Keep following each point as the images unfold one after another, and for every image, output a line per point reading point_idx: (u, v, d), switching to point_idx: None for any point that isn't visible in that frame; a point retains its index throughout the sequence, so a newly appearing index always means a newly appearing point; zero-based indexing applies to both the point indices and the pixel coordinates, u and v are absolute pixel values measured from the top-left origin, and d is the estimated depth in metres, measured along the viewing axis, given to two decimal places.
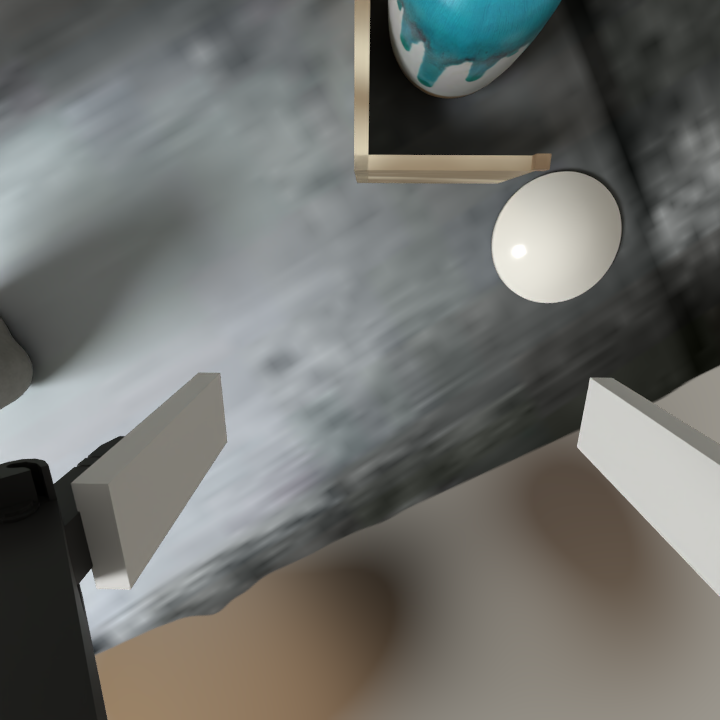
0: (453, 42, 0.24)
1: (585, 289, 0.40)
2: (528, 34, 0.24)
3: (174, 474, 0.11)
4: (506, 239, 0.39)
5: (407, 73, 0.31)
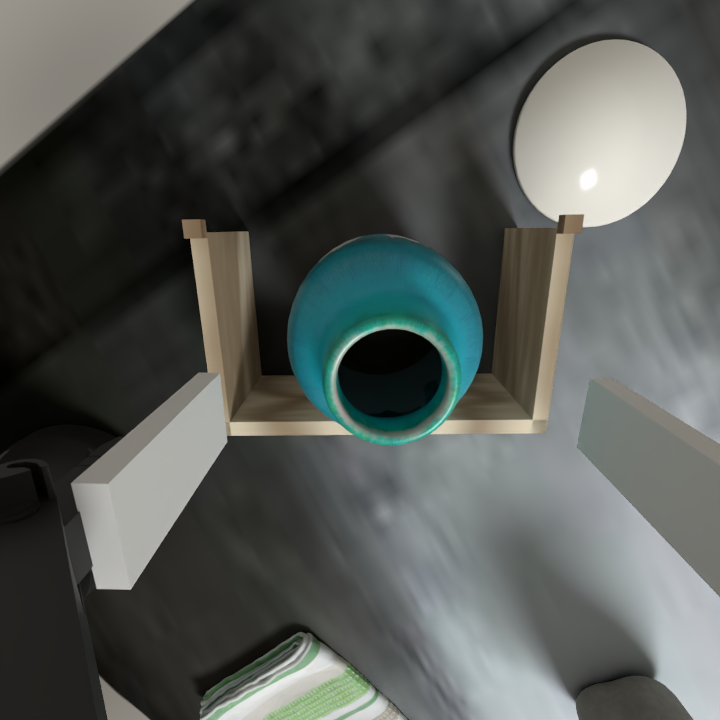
0: None
1: (675, 80, 0.28)
2: (470, 289, 0.20)
3: (174, 475, 0.11)
4: (588, 209, 0.31)
5: (428, 358, 0.30)
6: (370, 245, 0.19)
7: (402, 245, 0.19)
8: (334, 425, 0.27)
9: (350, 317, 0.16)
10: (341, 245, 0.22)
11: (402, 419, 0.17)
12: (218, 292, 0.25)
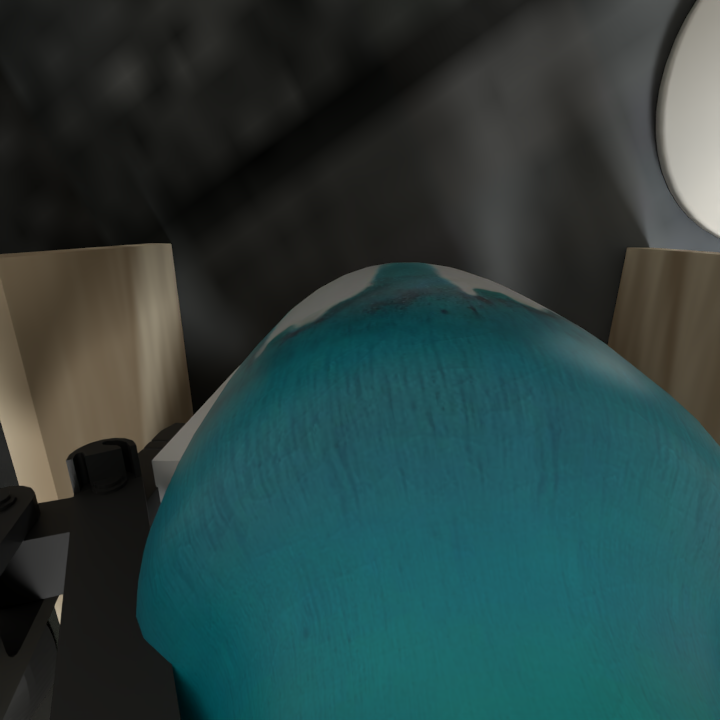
0: None
1: None
2: None
3: None
4: None
5: None
6: (415, 342, 0.05)
7: (533, 345, 0.05)
8: None
9: None
10: (322, 305, 0.08)
11: None
12: (52, 387, 0.11)
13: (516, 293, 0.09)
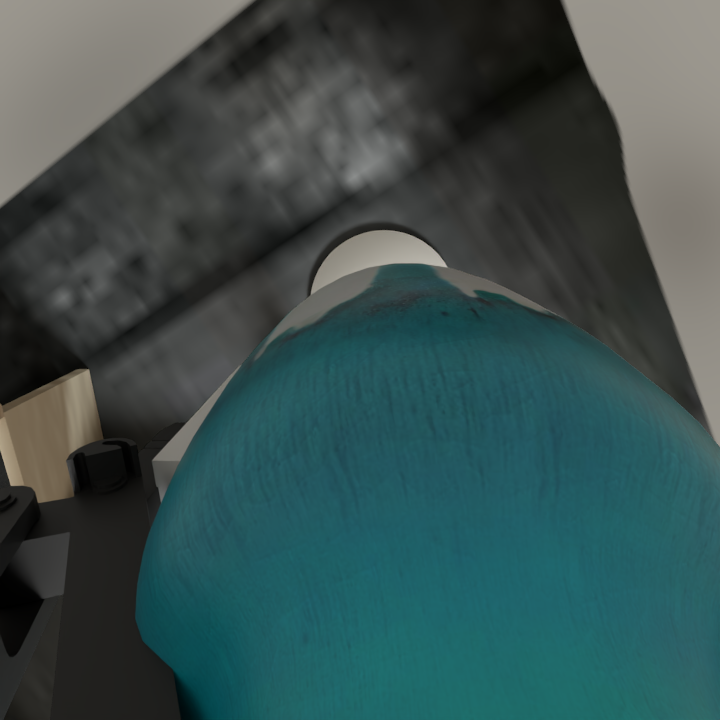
0: None
1: (442, 262, 0.33)
2: None
3: None
4: None
5: None
6: (415, 345, 0.05)
7: (534, 348, 0.05)
8: None
9: None
10: (321, 306, 0.08)
11: None
12: (25, 452, 0.30)
13: (517, 294, 0.08)
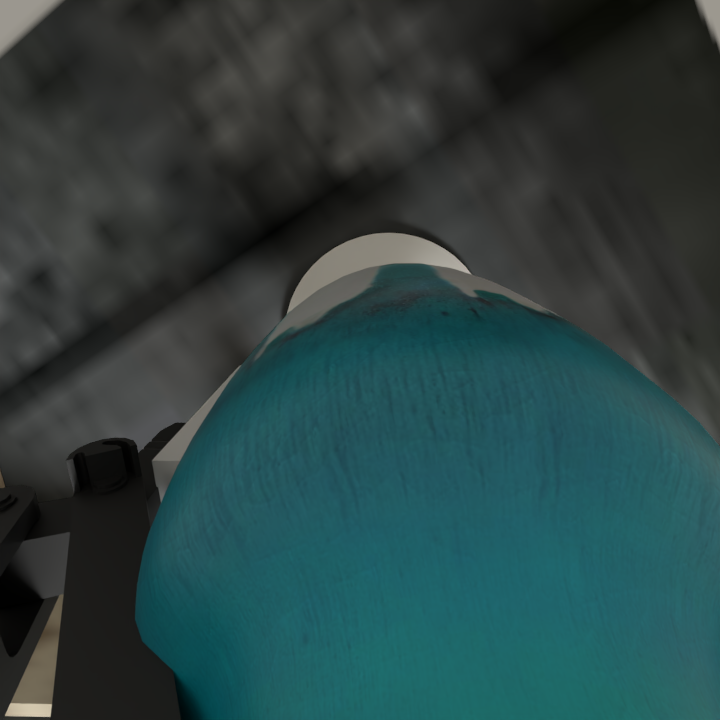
0: None
1: None
2: None
3: None
4: None
5: None
6: (415, 345, 0.05)
7: (534, 347, 0.05)
8: (28, 707, 0.22)
9: None
10: (321, 306, 0.08)
11: None
12: None
13: (517, 294, 0.08)
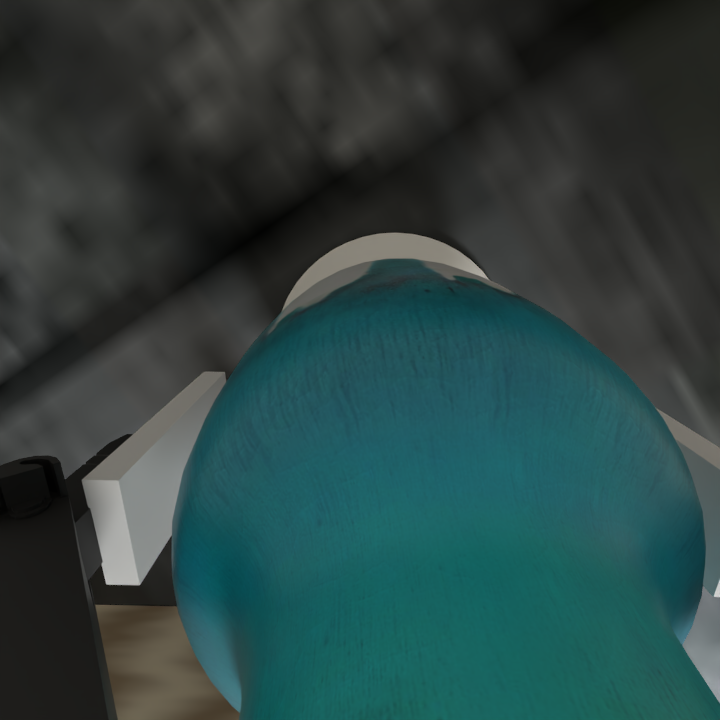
0: None
1: None
2: None
3: (181, 472, 0.11)
4: None
5: None
6: (402, 312, 0.07)
7: (496, 314, 0.07)
8: None
9: (334, 680, 0.04)
10: (324, 290, 0.09)
11: None
12: None
13: (491, 281, 0.10)
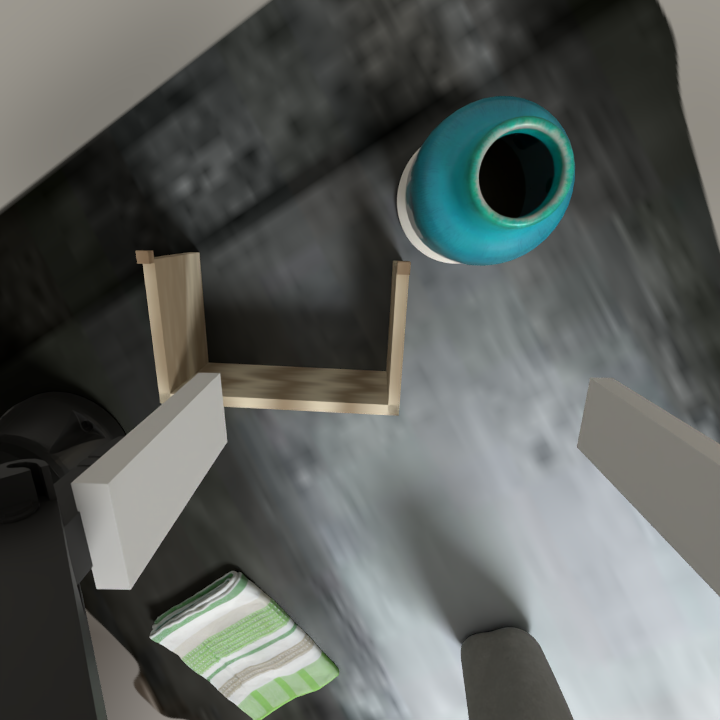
0: None
1: None
2: None
3: (174, 475, 0.11)
4: None
5: None
6: None
7: (519, 98, 0.25)
8: (245, 400, 0.37)
9: (489, 130, 0.22)
10: None
11: (518, 217, 0.23)
12: (163, 300, 0.36)
13: None
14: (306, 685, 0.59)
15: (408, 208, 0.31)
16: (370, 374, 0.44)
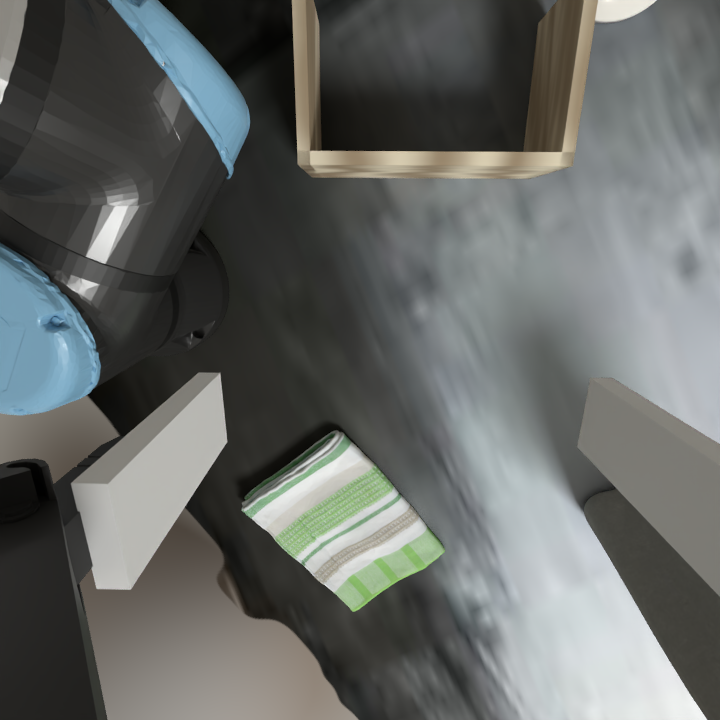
0: None
1: None
2: None
3: (174, 474, 0.11)
4: (610, 3, 0.36)
5: None
6: None
7: None
8: (396, 155, 0.33)
9: None
10: None
11: None
12: (307, 27, 0.31)
13: None
14: (411, 563, 0.54)
15: None
16: None
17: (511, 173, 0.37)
